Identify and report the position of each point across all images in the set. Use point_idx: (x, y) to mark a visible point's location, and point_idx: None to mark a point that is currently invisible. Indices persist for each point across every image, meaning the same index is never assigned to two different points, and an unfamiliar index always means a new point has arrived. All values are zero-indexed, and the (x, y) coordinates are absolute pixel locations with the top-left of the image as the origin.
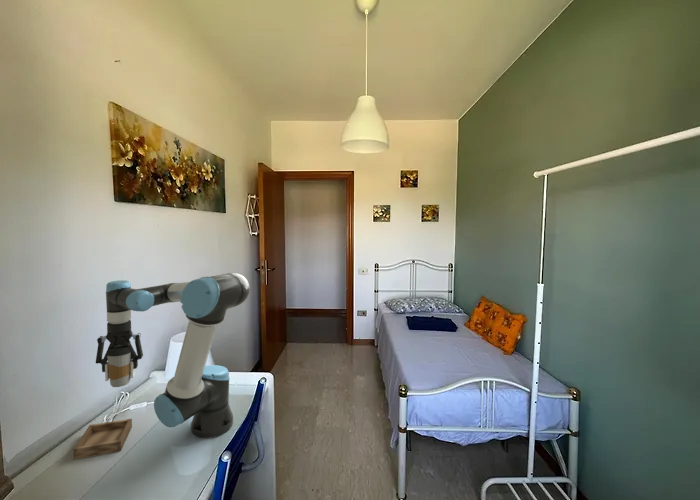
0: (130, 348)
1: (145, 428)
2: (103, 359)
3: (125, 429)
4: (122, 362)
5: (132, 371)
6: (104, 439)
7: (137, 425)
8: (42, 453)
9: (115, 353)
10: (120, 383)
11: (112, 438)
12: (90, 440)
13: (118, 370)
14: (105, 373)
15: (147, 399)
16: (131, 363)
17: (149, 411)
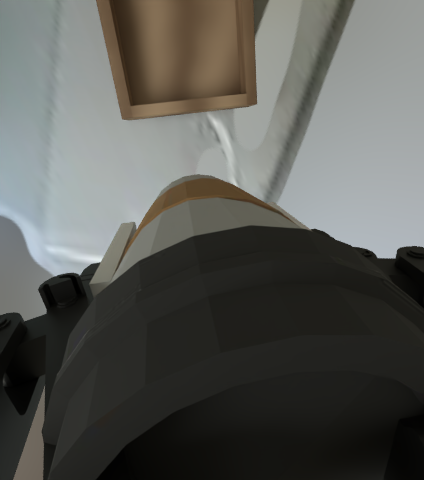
0: (45, 459)
1: (74, 103)
2: None
3: (108, 35)
4: (155, 226)
5: (115, 241)
6: (181, 38)
7: (114, 129)
8: (345, 22)
9: (263, 259)
10: (179, 181)
11: (156, 38)
12: (227, 44)
13: (191, 191)
14: (291, 217)
15: None
16: (105, 274)
17: (113, 210)
